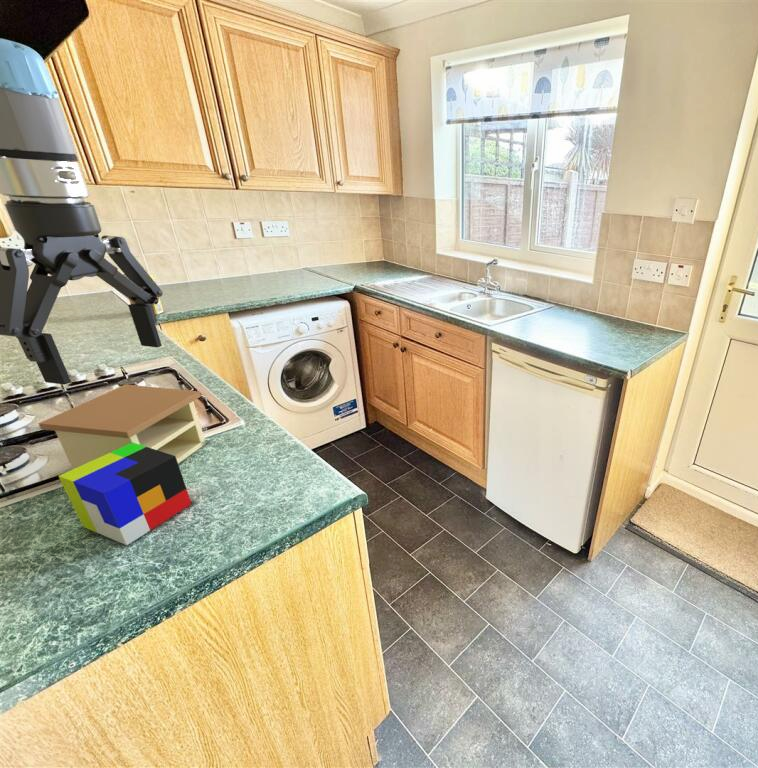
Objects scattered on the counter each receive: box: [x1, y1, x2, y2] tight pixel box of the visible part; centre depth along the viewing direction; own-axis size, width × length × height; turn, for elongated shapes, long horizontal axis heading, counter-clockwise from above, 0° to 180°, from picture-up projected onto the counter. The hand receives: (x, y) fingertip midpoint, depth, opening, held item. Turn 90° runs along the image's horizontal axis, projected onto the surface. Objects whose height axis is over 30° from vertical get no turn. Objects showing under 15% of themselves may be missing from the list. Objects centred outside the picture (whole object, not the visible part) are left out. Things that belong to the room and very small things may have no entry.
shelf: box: [38, 383, 207, 470], centre depth 80 cm, size 16×16×12 cm
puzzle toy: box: [58, 443, 192, 546], centre depth 67 cm, size 10×10×10 cm
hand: (110, 362), depth 59 cm, fingers open, 13 cm apart
